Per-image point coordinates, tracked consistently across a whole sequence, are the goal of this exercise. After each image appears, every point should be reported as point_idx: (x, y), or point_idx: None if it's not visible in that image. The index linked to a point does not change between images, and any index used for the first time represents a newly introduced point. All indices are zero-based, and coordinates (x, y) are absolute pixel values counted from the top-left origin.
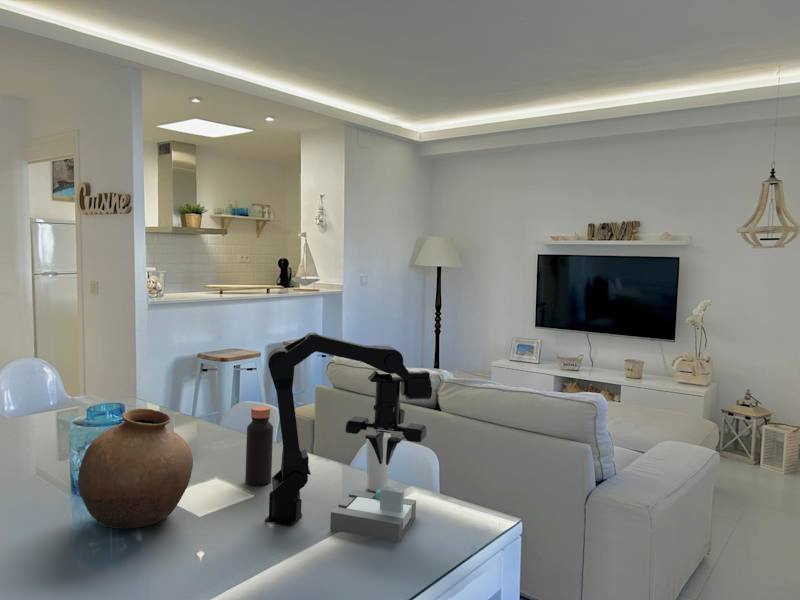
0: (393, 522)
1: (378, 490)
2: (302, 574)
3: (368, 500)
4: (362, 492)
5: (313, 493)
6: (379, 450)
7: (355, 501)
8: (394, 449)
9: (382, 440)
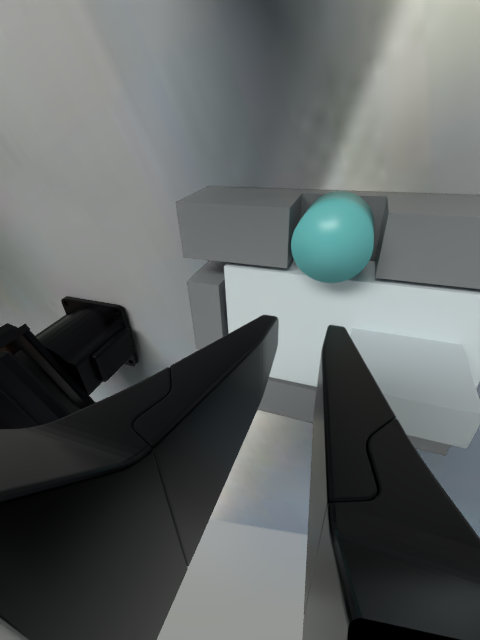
0: (419, 446)
1: (302, 240)
2: (255, 496)
3: (279, 293)
4: (223, 216)
5: (35, 124)
6: (221, 479)
7: (235, 312)
8: (404, 441)
9: (142, 467)
